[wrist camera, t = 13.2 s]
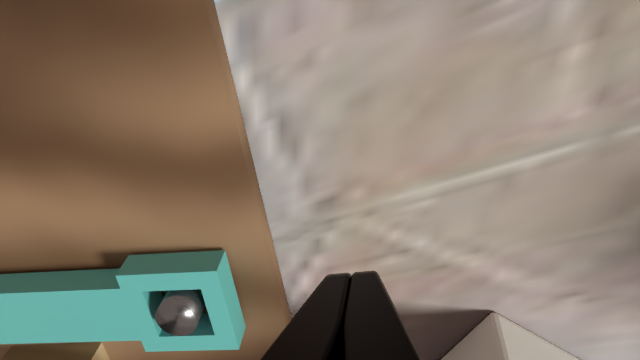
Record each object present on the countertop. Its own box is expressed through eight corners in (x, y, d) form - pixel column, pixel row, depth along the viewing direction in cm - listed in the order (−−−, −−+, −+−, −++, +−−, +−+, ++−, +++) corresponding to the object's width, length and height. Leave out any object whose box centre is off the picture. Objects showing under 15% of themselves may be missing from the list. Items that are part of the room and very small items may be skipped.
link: (225, 250, 24) (216, 270, 22) (245, 326, 26) (239, 349, 25) (-179, 270, 27) (-205, 290, 26) (-130, 337, 29) (-153, 358, 28)
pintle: (219, 288, 26) (201, 335, 24) (183, 290, 27) (162, 336, 24) (209, 258, 25) (190, 303, 23) (173, 260, 26) (149, 305, 23)
